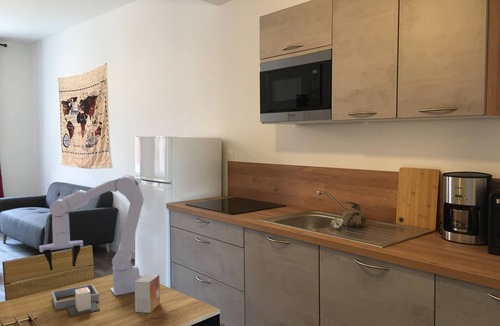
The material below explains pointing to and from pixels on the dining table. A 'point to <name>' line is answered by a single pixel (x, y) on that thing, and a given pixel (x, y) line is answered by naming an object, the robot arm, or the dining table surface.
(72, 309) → the mat
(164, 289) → the dining table surface
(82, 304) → the block
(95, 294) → the grey rectangular frame
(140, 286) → the small box
